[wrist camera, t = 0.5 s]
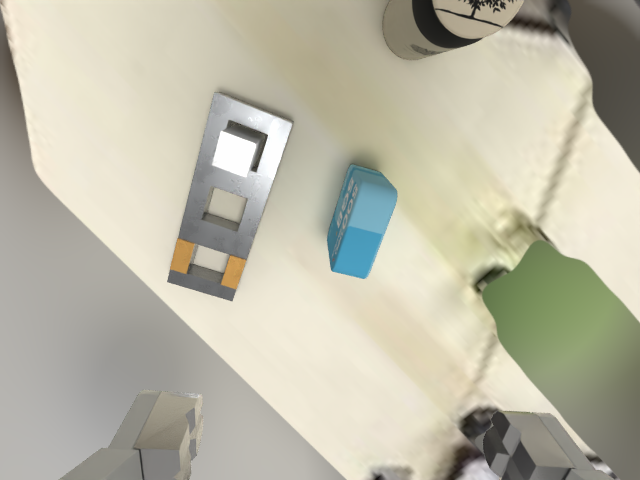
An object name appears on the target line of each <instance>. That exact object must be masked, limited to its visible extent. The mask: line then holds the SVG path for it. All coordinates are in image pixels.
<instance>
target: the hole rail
mask: <svg viewBox="0 0 640 480" xmlns="http://www.w3.org/2000/svg"><path fill="white" fill-rule="evenodd" d="M232 121H234V122H237V123H239V124H242V125H244V126H247V127H250V128H252V129H255V130H257V131H260V132H262V133H265V134H268V138H267V141H266V144H265V147H264V151H263V154H262V157H261V160H260V163H259V166H258V168H257V167H253V168H252V170H251V171H250V172H249V174H248V175H247V177H243V176H241V175H238V174H235V173H232V172H230V171H227V170H224V169H221V168H219V167H216V166H213V165H212V163H213V159H214V155H215V152H216V148H217V144H218V140H219V137H220V133H221V131H222V130H224V129H226V128H228V127H231V124H232ZM293 122H294V121H291V120H289V119H286V118H284V117H281V116H279V115H276V114H274V113H271V112H269V111H266V110H264V109H261V108H259V107H256V106H254V105H251V104H249V103H246V102H244V101H241V100H239V99H236V98H234V97H231V96H229V95H226V94H224V93H221V92H214V96H213V100H212V104H211V108H210V112H209V116H208V120H207V124H206V128H205V132H204V136H203V140H202V144H201V148H200V152H199V156H198V160H197V164H196V168H195V172H194V176H193V180H192V184H191V188H190V192H189V196H188V200H187V204H186V208H185V212H184V216H183V220H182V224H181V228H180V232H179V236H178V239H177V243H176V247H175V251H174V255H173V259H172V263H171V267H170V272H169V276H168V280H167V282H169V283H172V284H176V285H179V286H183V287H186V288H189V289H193V290H196V291H199V292H203V293H206V294H209V295H213V296H216V297H219V298H223V299H226V300H230V301H233V298H234V295H235V292H236V289H237V287H238V284H239V281H240V278H241V275H242V272H243V269H244V266H245V263H246V260H247V257H248V254H249V251H250V248H251V245H252V242H253V239H254V236H255V234H256V231H257V228H258V225H259V222H260V219H261V216H262V213H263V210H264V207H265V204H266V201H267V198H268V195H269V192H270V189H271V186H272V183H273V181H274V178H275V175H276V172H277V169H278V166H279V163H280V160H281V157H282V154H283V151H284V148H285V145H286V142H287V139H288V136H289V133H290V130H291V128H292V125H293ZM214 187H216V188H219V189H221V190H224V191H227V192H230V193H233V194H236V195H239V196H241V197H244V198H247V199H248V201H247V204H246V207H245V210H244V213H243V217H242V220H241V223H240V224H238V223H235V222H232V221H229V220H226V219H223V218H220V217H217V216H214V215H211V214H208V213H207V211H208V207H209V204H210V200H211V197H212V193H213V189H214ZM198 245H201V246H205V247H208V248H211V249H214V250H217V251H220V252H223V253H226V254H229V255H230V257H229V260H228V264H227V267H226V270H225V273H224V274H223V273H219V272H216V271H213V270H210V269H207V268H203V267H200V266H197V265H194V264H193V262H194V258H195V255H196V251H197V247H198Z"/></svg>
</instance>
